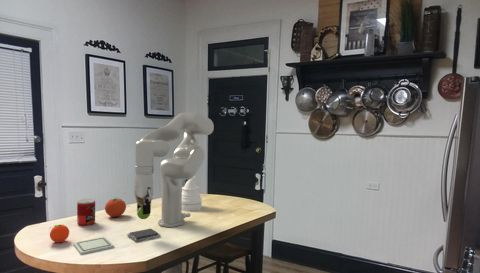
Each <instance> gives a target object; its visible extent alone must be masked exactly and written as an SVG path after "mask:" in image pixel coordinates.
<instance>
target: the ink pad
mask: <svg viewBox="0 0 480 273" xmlns="http://www.w3.org/2000/svg"><path fill="white" fill-rule="evenodd" d="M126 236H127V237H128V238H129V239H130V240H131V241H133V242H134V243H138V242H143V241H148V240H153V239H158V238H161V233H159V232H157V231H156V230H154V229H153V228H145V229H141V230H137V231H132V232H131V231H130V232H129V233H127V235H126Z"/></svg>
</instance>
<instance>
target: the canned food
mask: <svg viewBox="0 0 480 273" xmlns="http://www.w3.org/2000/svg"><path fill="white" fill-rule="evenodd" d="M76 209H77V211H76V212H77V213H76V215H77V216H76V220H77V221H76V223H77V225H78V226H79V227H80V226H81V227H85V226H86V227H88V226H92V225H94V224H95V223H96V199H93V198H85V199H79V200H77V202H76Z"/></svg>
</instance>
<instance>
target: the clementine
mask: <svg viewBox="0 0 480 273" xmlns="http://www.w3.org/2000/svg"><path fill="white" fill-rule="evenodd" d="M49 229H51V230H50V233H49V238H50V240H51V241H52V242H55V243H62V242H65V241H66V240H67V239H68V238H69V236H70V229H69V227H68V226H67V225H65V224H55V225H53V226H50V227H49Z"/></svg>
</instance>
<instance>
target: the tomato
mask: <svg viewBox="0 0 480 273" xmlns="http://www.w3.org/2000/svg"><path fill="white" fill-rule="evenodd" d="M126 209H127V205H126V202H125V201H124V200H123V199H121V198H118V197H115V198H112V199H109V200H108V201H107V202H106V204H105V205H104V211H105V213H106V214H107V216H109V217H113V218H117V217H120V216H121V215H123V214H124V213H125V212H126Z"/></svg>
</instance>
